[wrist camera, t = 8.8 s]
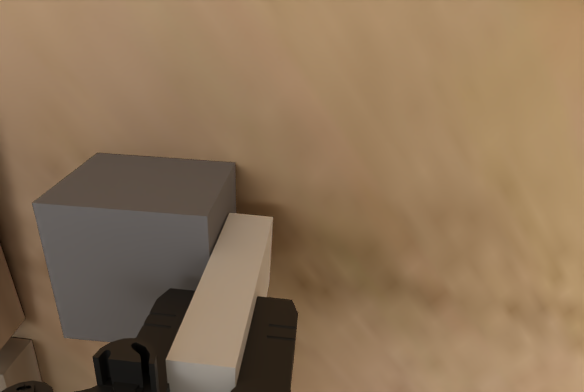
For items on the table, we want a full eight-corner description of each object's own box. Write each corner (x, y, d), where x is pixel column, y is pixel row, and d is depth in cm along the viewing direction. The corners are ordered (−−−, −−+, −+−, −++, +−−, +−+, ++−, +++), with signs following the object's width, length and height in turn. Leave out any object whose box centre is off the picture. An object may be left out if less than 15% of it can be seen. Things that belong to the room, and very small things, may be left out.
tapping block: (116, 267, 19) (64, 337, 15) (97, 152, 16) (31, 202, 13) (237, 277, 18) (213, 352, 15) (235, 161, 16) (207, 216, 13)
